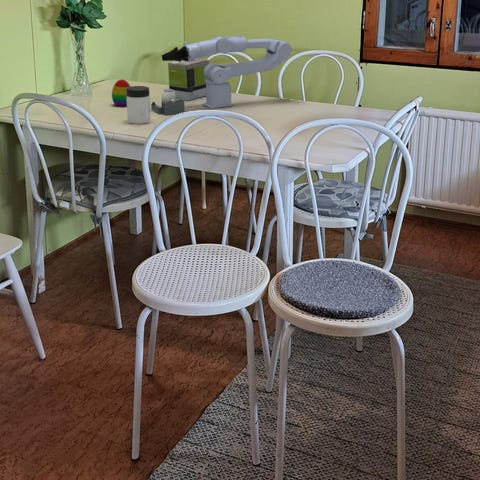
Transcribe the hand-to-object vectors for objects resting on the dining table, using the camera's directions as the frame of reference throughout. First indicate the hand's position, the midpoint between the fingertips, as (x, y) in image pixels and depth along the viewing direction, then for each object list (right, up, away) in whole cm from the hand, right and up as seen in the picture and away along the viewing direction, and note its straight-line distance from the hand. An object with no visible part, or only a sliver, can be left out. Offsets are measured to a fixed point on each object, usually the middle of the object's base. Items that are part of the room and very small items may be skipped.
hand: (165, 58), depth 298 cm
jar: (-8, -25, -10) cm, 28 cm away
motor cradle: (+1, -19, +5) cm, 20 cm away
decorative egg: (-18, -15, +15) cm, 28 cm away
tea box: (+7, -9, +30) cm, 33 cm away
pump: (0, -15, +15) cm, 21 cm away
